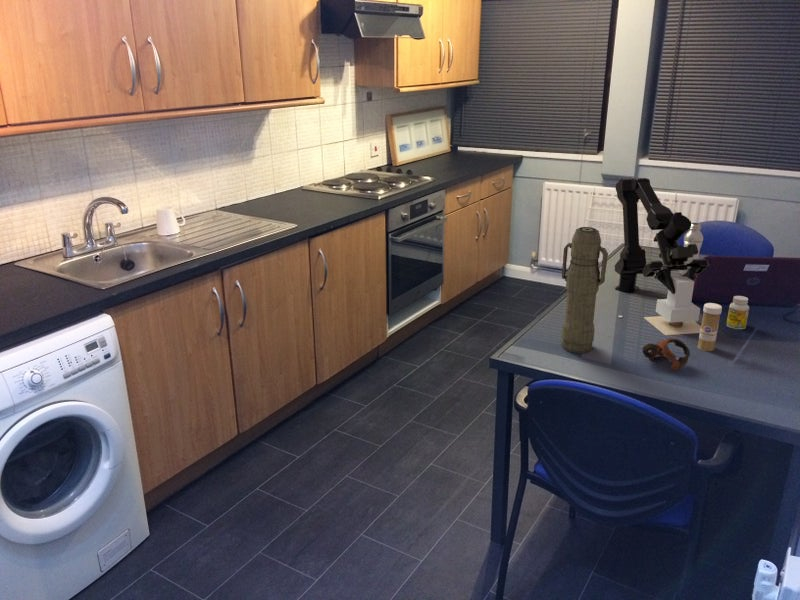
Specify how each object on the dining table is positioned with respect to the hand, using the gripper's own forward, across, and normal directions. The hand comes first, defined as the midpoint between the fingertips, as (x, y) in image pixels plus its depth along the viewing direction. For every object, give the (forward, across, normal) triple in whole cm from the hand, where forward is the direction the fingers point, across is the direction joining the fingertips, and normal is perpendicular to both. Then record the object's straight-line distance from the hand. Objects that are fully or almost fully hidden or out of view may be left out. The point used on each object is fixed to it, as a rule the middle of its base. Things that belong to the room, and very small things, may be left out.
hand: (682, 293), depth 194 cm
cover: (+5, 0, +7) cm, 8 cm away
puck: (+7, 0, +8) cm, 11 cm away
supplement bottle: (+10, +18, +7) cm, 21 cm away
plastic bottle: (-24, +29, +41) cm, 55 cm away
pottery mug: (+24, -16, -8) cm, 30 cm away
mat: (+7, 0, +9) cm, 11 cm away
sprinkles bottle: (+19, 0, -3) cm, 19 cm away
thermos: (+14, -35, +2) cm, 38 cm away
